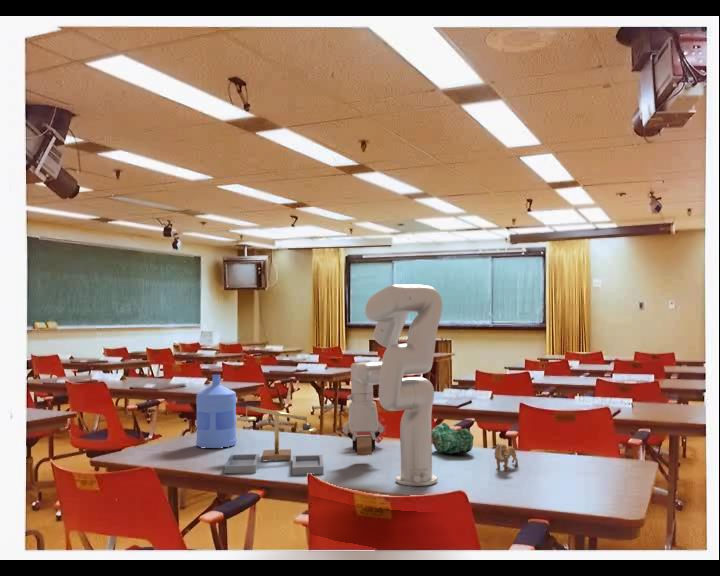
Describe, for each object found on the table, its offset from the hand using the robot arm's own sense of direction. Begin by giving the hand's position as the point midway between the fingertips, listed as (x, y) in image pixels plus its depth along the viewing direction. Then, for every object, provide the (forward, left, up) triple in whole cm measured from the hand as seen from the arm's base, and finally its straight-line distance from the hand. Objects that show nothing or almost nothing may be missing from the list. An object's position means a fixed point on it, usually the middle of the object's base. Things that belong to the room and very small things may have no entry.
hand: (364, 450), depth 228 cm
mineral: (+13, -34, -5) cm, 36 cm away
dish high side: (0, +41, -4) cm, 42 cm away
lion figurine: (-15, -46, -4) cm, 48 cm away
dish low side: (-5, +19, -4) cm, 20 cm away
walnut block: (0, 0, -1) cm, 1 cm away
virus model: (+28, -4, -4) cm, 28 cm away
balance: (+13, +30, -4) cm, 33 cm away
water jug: (+40, +55, -4) cm, 68 cm away
